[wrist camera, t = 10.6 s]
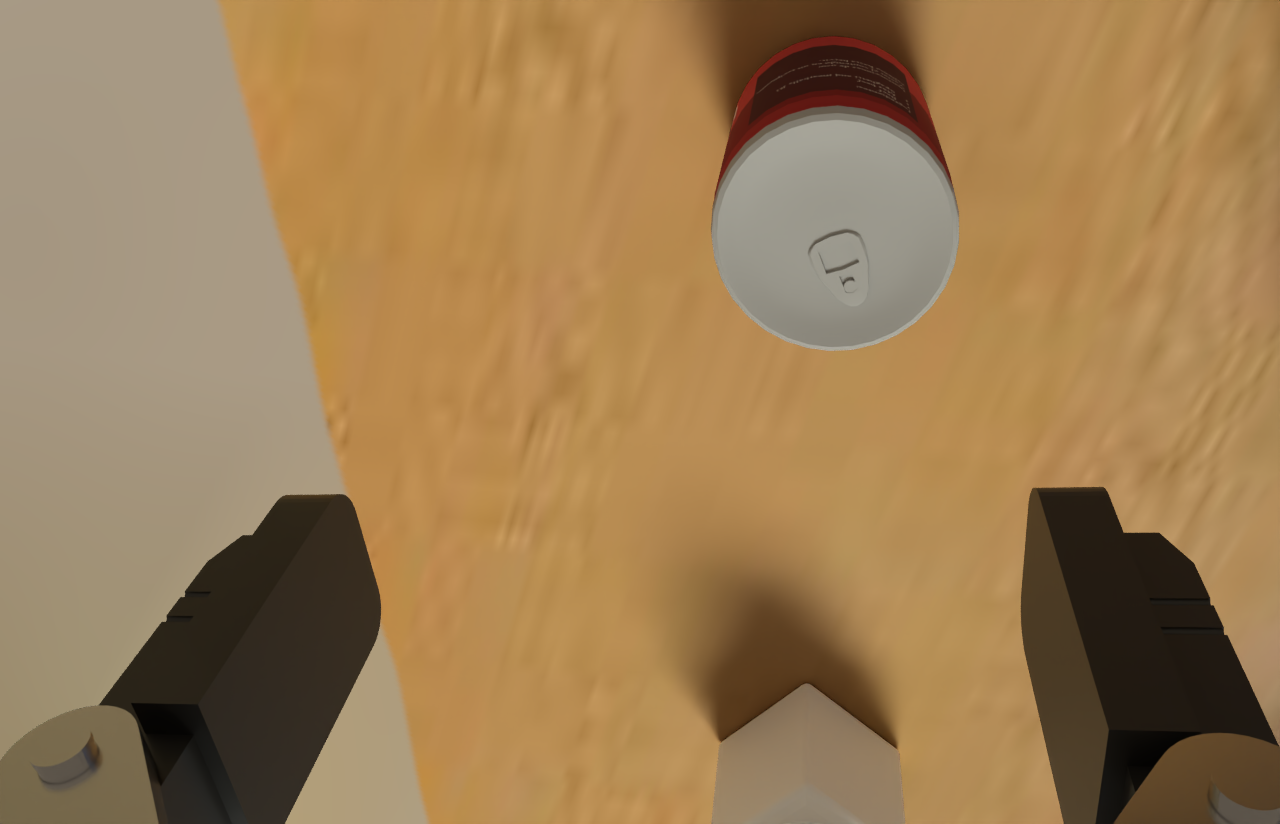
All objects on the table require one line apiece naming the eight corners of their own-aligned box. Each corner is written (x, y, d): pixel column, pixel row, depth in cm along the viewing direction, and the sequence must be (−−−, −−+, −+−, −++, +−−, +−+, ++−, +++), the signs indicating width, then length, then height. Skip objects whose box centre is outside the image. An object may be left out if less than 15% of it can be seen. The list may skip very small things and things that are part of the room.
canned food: (810, 264, 46) (808, 394, 37) (691, 115, 44) (656, 214, 34) (971, 154, 43) (1013, 266, 34) (852, -14, 40) (862, 56, 31)
